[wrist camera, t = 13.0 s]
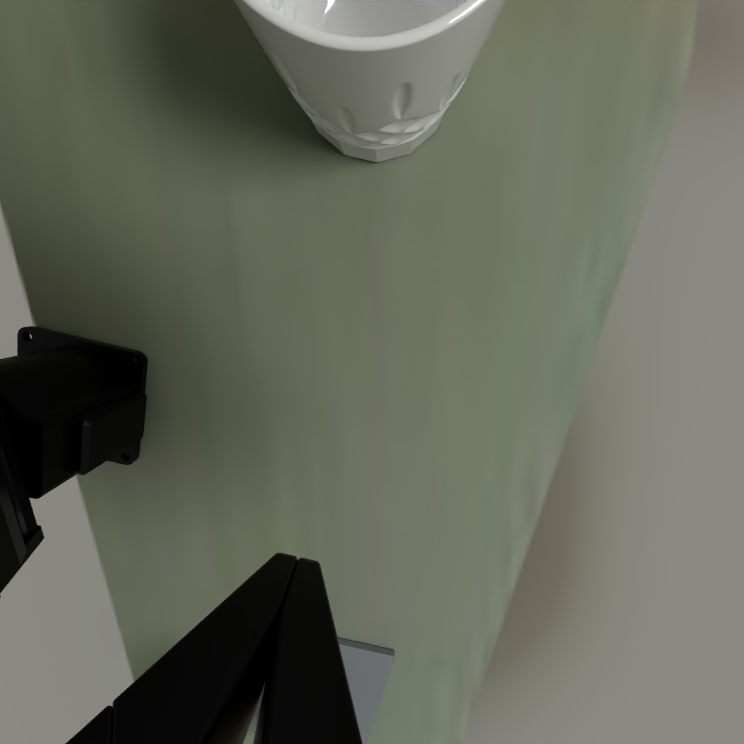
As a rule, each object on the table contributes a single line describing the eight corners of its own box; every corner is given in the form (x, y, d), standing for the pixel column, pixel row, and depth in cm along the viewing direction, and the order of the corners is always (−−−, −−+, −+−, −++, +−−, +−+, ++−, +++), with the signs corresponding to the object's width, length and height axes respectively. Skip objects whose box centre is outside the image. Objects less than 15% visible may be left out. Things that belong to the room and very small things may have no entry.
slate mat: (236, 721, 26) (234, 728, 26) (256, 619, 24) (254, 625, 23) (362, 748, 26) (362, 755, 26) (394, 650, 24) (394, 656, 24)
